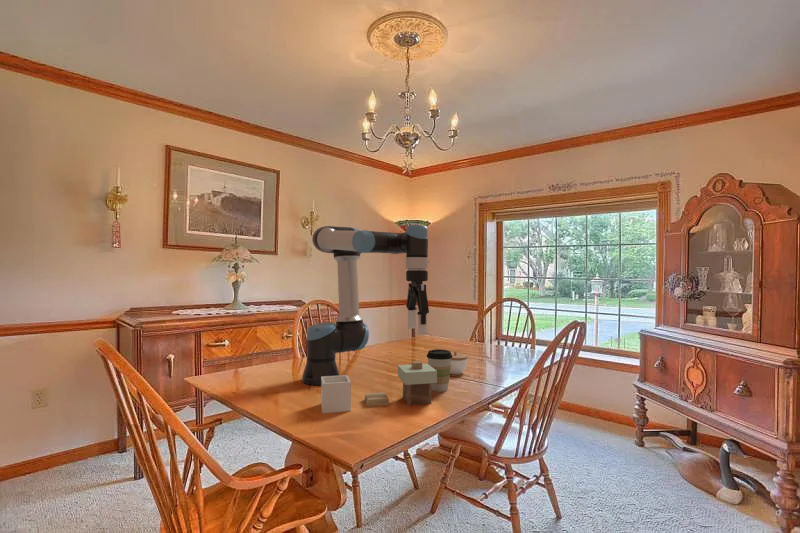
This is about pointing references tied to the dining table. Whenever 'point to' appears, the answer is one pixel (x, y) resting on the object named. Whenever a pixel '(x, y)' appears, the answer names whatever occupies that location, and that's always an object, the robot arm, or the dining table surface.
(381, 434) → the dining table surface
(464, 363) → the lidded jar
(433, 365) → the coffee cup
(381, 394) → the oak stand
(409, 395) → the walnut box
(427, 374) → the lid
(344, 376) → the planter
